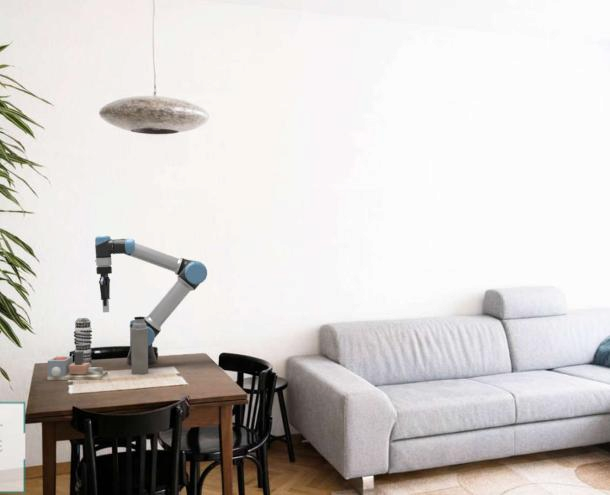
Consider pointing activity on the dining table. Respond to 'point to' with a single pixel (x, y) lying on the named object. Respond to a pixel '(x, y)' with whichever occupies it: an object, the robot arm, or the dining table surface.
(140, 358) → the thermos bottle
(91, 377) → the rail base
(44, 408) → the dining table surface
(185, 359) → the dining table surface
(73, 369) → the carriage
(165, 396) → the dining table surface
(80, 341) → the decorative candle
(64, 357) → the button
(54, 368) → the end cabinet
